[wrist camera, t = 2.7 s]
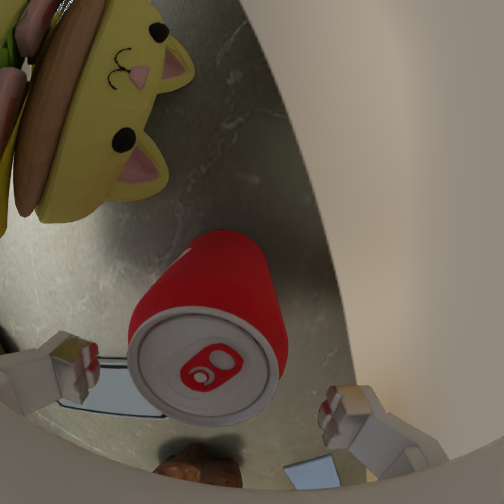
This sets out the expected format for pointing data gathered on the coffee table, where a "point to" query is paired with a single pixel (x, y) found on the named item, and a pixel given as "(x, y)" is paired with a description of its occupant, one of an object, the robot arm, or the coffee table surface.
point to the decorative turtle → (201, 468)
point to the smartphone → (115, 395)
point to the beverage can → (210, 334)
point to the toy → (82, 104)
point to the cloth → (314, 474)
